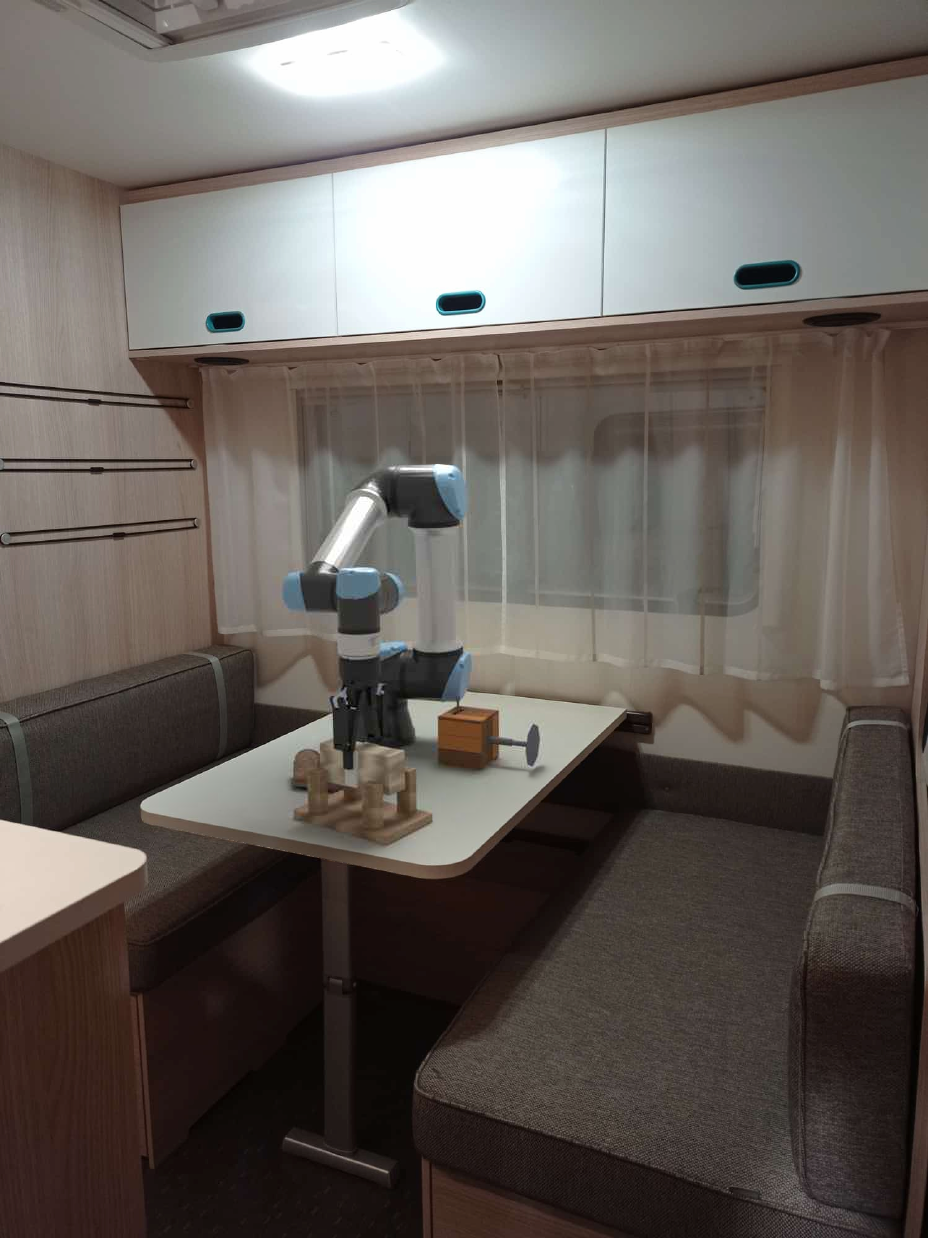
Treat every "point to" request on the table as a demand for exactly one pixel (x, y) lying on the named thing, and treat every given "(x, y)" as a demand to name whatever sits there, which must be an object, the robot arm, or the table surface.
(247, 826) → the table surface
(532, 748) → the wooden box with plunger
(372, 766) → the cream wooden block
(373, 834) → the wooden block assembly
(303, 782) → the pipe
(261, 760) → the table surface
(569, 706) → the table surface
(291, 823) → the table surface
